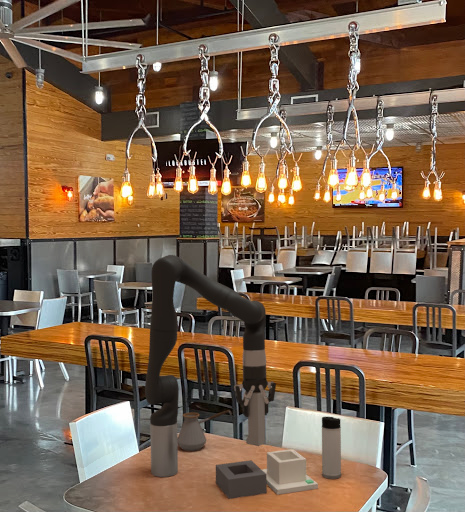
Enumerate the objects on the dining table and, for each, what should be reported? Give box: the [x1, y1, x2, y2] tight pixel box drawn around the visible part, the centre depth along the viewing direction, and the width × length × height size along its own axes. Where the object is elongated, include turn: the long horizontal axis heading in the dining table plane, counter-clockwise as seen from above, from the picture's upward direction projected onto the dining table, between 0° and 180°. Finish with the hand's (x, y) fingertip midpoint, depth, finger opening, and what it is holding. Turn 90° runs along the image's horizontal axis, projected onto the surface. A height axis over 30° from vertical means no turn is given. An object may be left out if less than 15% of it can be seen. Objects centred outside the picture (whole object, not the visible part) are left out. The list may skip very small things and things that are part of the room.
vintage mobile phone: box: [244, 391, 266, 447], centre depth 198 cm, size 4×5×25 cm
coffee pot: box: [177, 409, 232, 452], centre depth 237 cm, size 21×12×15 cm, turn 83°
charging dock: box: [261, 448, 319, 496], centre depth 203 cm, size 18×14×8 cm
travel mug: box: [321, 416, 342, 480], centre depth 207 cm, size 6×7×20 cm
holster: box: [215, 459, 268, 500], centre depth 198 cm, size 14×12×6 cm
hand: (255, 415), depth 198 cm, fingers closed on vintage mobile phone, 5 cm apart
